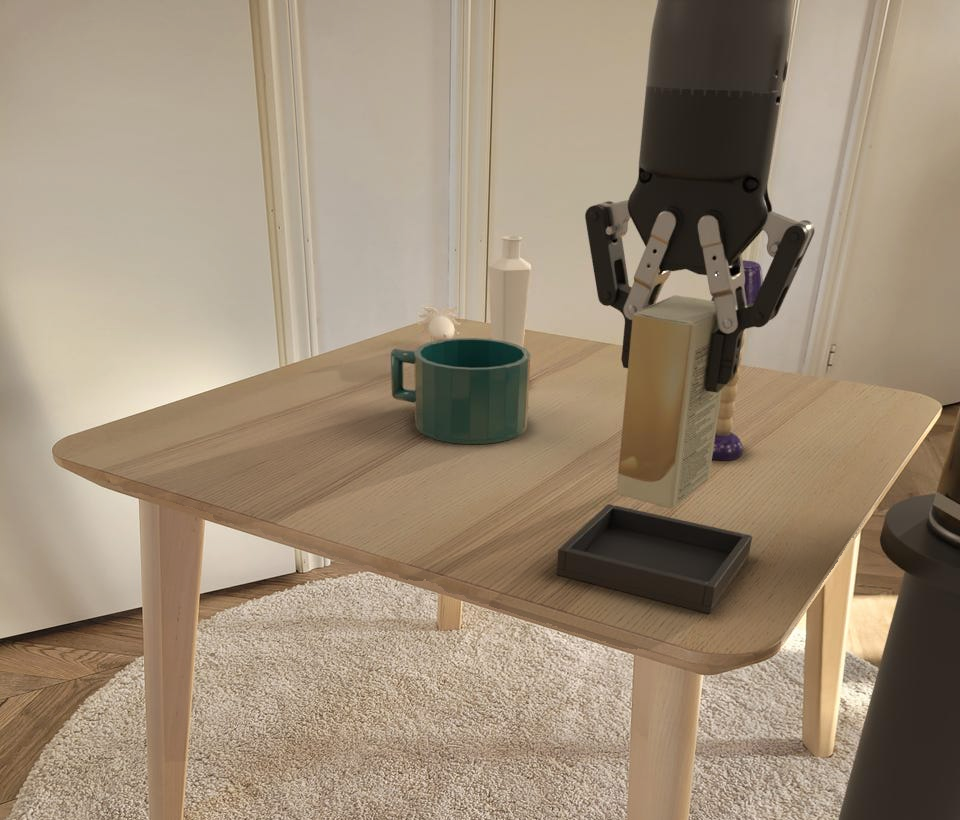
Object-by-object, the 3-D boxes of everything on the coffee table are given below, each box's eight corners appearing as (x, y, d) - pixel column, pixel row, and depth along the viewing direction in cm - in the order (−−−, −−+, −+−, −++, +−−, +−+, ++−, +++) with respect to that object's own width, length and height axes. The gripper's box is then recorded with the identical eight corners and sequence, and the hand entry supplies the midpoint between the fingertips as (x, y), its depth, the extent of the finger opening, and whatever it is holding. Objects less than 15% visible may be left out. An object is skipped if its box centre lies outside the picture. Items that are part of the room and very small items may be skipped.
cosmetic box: (654, 468, 72) (675, 292, 66) (710, 482, 70) (738, 302, 63) (611, 496, 67) (629, 310, 61) (670, 512, 65) (695, 321, 59)
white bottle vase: (537, 385, 108) (544, 239, 101) (504, 392, 106) (509, 242, 99) (512, 375, 112) (518, 232, 104) (480, 381, 110) (483, 235, 102)
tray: (748, 560, 73) (752, 535, 72) (710, 614, 66) (714, 587, 65) (605, 527, 77) (607, 503, 76) (556, 574, 70) (557, 549, 69)
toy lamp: (738, 465, 89) (769, 270, 81) (686, 458, 91) (711, 265, 82) (745, 447, 93) (775, 259, 84) (695, 441, 94) (720, 255, 86)
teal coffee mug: (544, 418, 99) (548, 348, 96) (494, 452, 91) (496, 376, 87) (420, 395, 105) (420, 327, 101) (363, 424, 97) (359, 352, 93)
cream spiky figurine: (416, 341, 123) (416, 301, 121) (459, 341, 124) (460, 301, 121) (421, 369, 113) (421, 326, 111) (468, 368, 114) (469, 326, 111)
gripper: (570, 77, 56) (552, 379, 65) (830, 88, 50) (771, 417, 59) (619, 75, 62) (596, 353, 70) (858, 84, 56) (800, 385, 65)
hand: (676, 381), depth 65 cm, fingers closed on cosmetic box, 4 cm apart
